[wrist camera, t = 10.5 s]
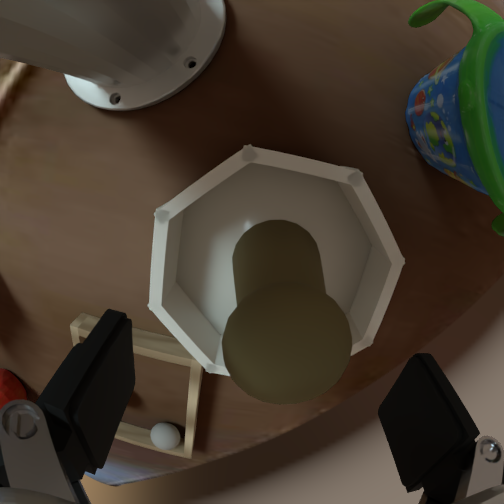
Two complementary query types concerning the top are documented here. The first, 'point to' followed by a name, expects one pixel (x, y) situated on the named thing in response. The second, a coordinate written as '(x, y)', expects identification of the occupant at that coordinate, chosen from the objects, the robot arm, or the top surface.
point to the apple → (10, 388)
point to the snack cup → (464, 105)
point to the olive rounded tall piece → (283, 318)
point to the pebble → (165, 436)
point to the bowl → (256, 211)
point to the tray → (161, 350)
